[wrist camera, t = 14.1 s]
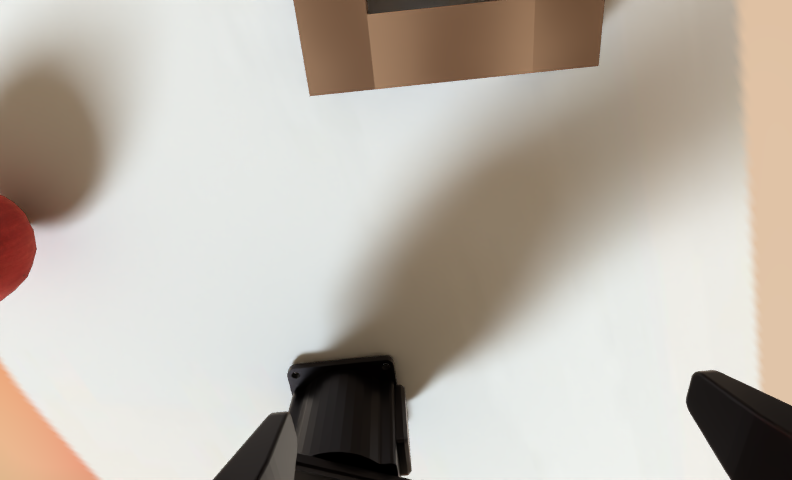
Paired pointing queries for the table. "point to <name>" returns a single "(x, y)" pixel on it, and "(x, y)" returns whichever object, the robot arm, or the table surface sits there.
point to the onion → (14, 247)
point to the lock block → (443, 41)
